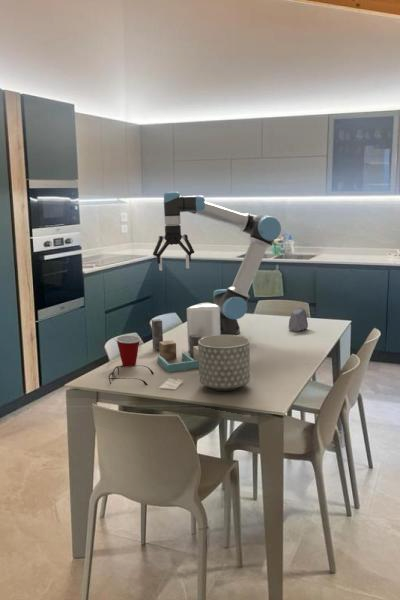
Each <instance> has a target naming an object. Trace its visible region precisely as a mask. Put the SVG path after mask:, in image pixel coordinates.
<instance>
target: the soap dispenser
mask: <svg viewBox="0 0 400 600" xmlns="http://www.w3.org/2000/svg"><path fill="white" fill-rule="evenodd" d="M186 324H187V325H186V327H187V350H188V351H189V352H190V346H189V335H197V334H198V335H199V336H201V338H204V337H208V336H213V335H221V332H220V307H219V306H218V305H216V304H214V303H211V302H201V303H197V304H194V305H190V306H189V307H187V308H186Z"/></svg>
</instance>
